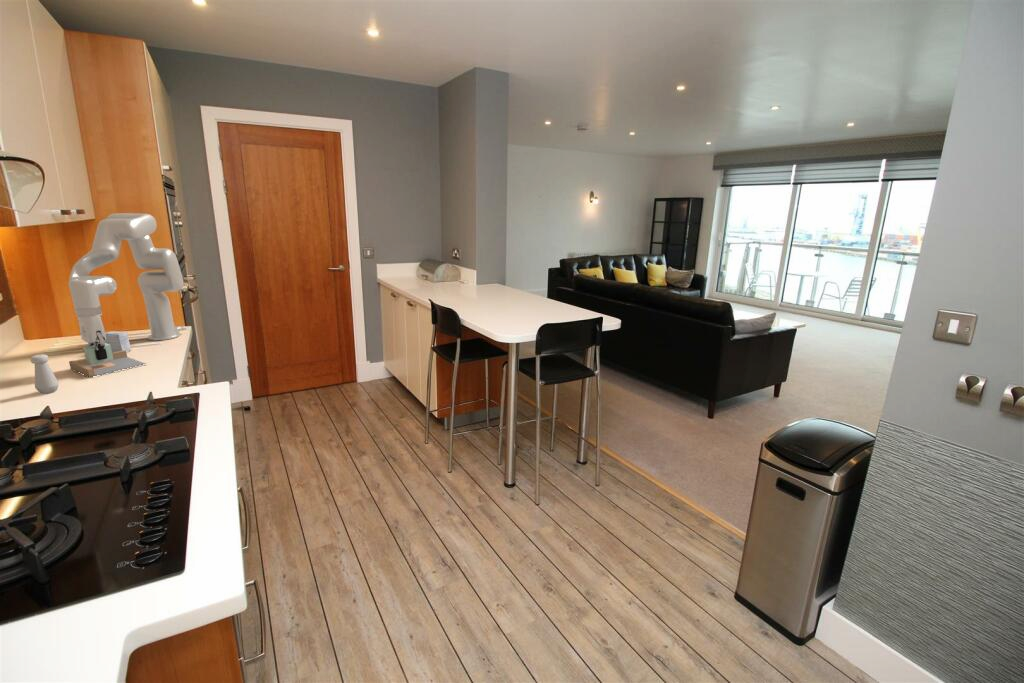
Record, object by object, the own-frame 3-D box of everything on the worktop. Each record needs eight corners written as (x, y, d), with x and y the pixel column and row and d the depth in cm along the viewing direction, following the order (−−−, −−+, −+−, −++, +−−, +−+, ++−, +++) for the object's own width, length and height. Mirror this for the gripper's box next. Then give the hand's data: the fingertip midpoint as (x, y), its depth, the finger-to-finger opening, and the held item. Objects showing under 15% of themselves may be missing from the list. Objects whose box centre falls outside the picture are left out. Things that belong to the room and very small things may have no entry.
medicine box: (131, 350, 211) (127, 331, 209) (122, 353, 207) (118, 334, 205) (115, 350, 212) (110, 331, 210) (105, 353, 208) (101, 333, 206)
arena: (125, 357, 202) (124, 350, 201) (146, 365, 193) (144, 357, 192) (70, 369, 187) (68, 361, 186) (89, 378, 178) (87, 369, 177)
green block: (86, 362, 186) (83, 347, 185) (108, 357, 192) (105, 343, 191) (91, 364, 184) (87, 348, 183) (113, 359, 190) (110, 344, 188)
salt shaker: (53, 387, 169) (44, 352, 165) (63, 390, 167) (54, 353, 163) (32, 393, 163) (22, 356, 160) (42, 396, 161) (32, 358, 158)
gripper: (67, 311, 184) (78, 357, 189) (85, 316, 176) (96, 364, 180) (91, 307, 190) (102, 352, 195) (110, 312, 182) (120, 359, 187)
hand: (99, 357), depth 188 cm, fingers closed on green block, 4 cm apart
